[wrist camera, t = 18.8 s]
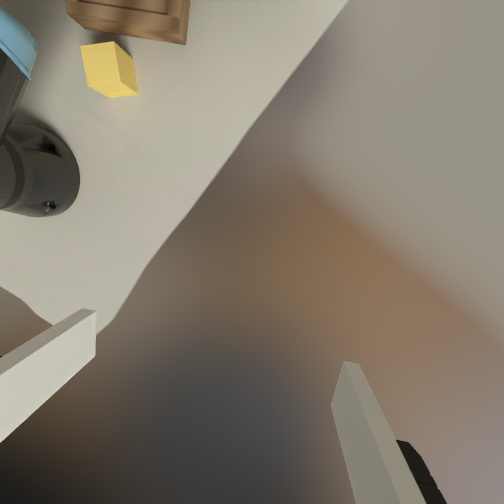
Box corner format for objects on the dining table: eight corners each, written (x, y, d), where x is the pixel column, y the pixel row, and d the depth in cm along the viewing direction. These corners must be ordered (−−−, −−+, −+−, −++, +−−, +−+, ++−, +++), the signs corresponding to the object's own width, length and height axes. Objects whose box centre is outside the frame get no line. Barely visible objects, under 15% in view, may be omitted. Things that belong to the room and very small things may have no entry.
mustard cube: (109, 98, 42) (87, 86, 37) (103, 63, 41) (79, 46, 36) (138, 94, 42) (120, 81, 37) (133, 58, 40) (113, 41, 36)
